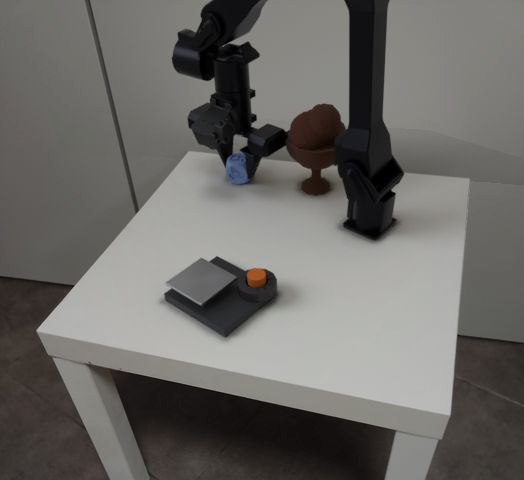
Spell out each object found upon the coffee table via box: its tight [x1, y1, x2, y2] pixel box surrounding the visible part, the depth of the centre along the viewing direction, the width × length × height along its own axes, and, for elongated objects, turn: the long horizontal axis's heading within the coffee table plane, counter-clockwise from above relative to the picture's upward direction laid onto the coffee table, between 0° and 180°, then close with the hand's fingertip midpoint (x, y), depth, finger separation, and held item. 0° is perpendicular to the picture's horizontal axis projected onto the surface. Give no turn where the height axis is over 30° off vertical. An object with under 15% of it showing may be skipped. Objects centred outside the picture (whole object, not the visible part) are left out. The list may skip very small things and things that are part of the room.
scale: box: [163, 255, 278, 338], centre depth 78 cm, size 13×12×3 cm
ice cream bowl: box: [285, 103, 347, 197], centre depth 92 cm, size 11×11×15 cm
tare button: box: [247, 267, 266, 288], centre depth 76 cm, size 3×3×2 cm
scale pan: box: [165, 257, 237, 306], centre depth 77 cm, size 7×7×1 cm
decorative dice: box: [225, 152, 251, 185], centre depth 99 cm, size 4×4×4 cm
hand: (239, 173), depth 100 cm, fingers closed on decorative dice, 5 cm apart
